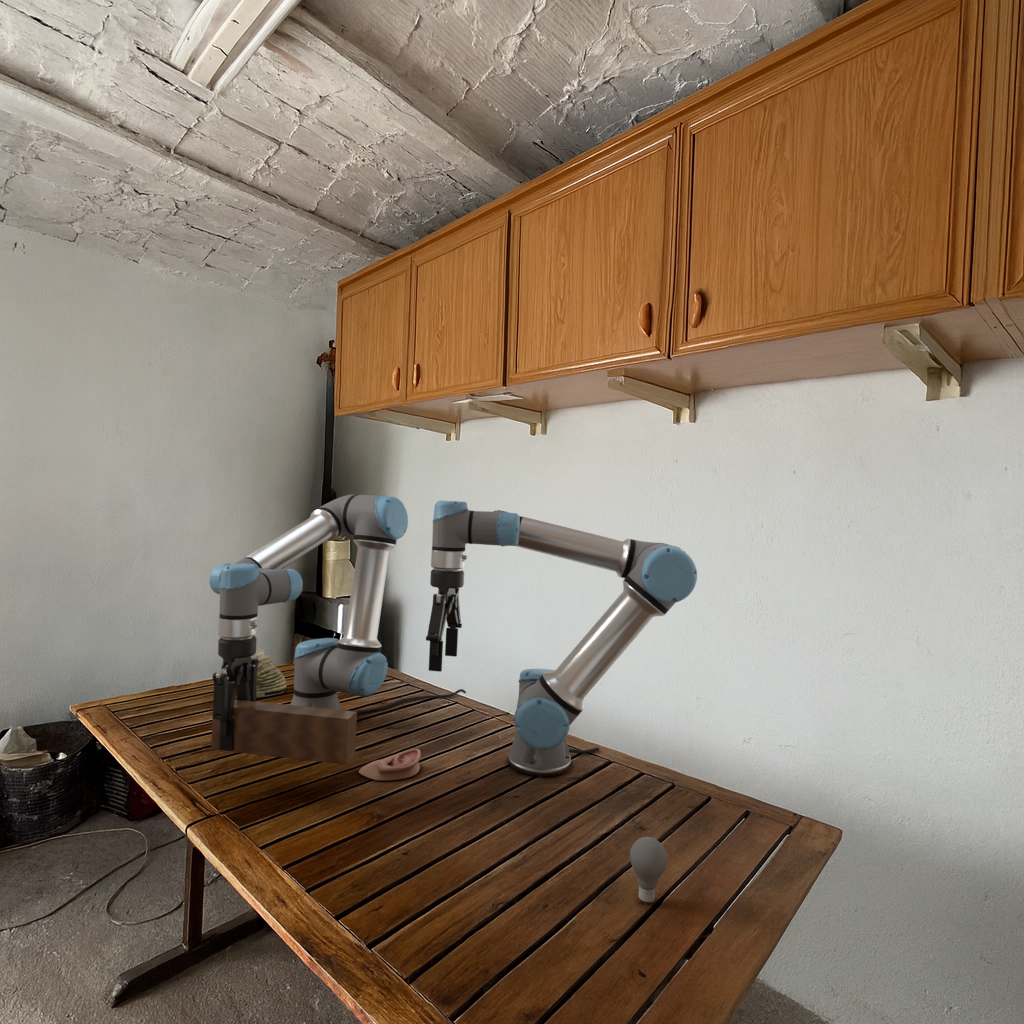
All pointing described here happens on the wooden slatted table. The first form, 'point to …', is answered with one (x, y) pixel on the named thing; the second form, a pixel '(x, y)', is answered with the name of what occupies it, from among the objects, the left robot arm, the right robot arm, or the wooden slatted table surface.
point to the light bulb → (648, 865)
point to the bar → (291, 732)
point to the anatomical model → (393, 766)
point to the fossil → (267, 676)
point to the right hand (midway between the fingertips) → (443, 663)
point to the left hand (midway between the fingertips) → (234, 744)
